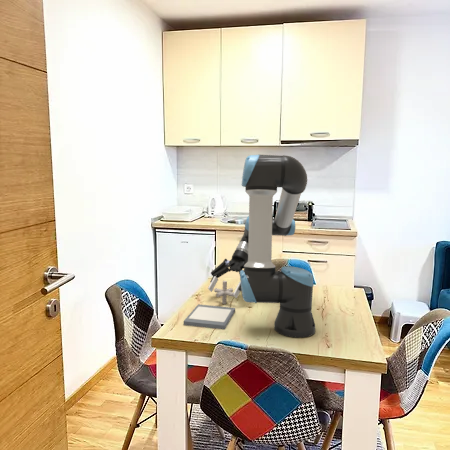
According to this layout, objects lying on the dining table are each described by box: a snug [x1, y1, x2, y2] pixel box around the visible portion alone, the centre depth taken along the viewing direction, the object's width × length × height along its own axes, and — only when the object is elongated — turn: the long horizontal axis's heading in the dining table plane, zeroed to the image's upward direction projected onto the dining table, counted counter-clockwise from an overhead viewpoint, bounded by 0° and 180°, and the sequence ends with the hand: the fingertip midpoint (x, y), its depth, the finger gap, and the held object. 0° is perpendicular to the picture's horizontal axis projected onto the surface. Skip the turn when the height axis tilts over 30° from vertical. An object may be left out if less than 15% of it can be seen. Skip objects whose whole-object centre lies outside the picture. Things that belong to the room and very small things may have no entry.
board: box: [183, 304, 236, 330], centre depth 169 cm, size 20×16×2 cm
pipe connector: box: [213, 280, 235, 305], centre depth 186 cm, size 10×10×10 cm
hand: (222, 293), depth 185 cm, fingers open, 13 cm apart
